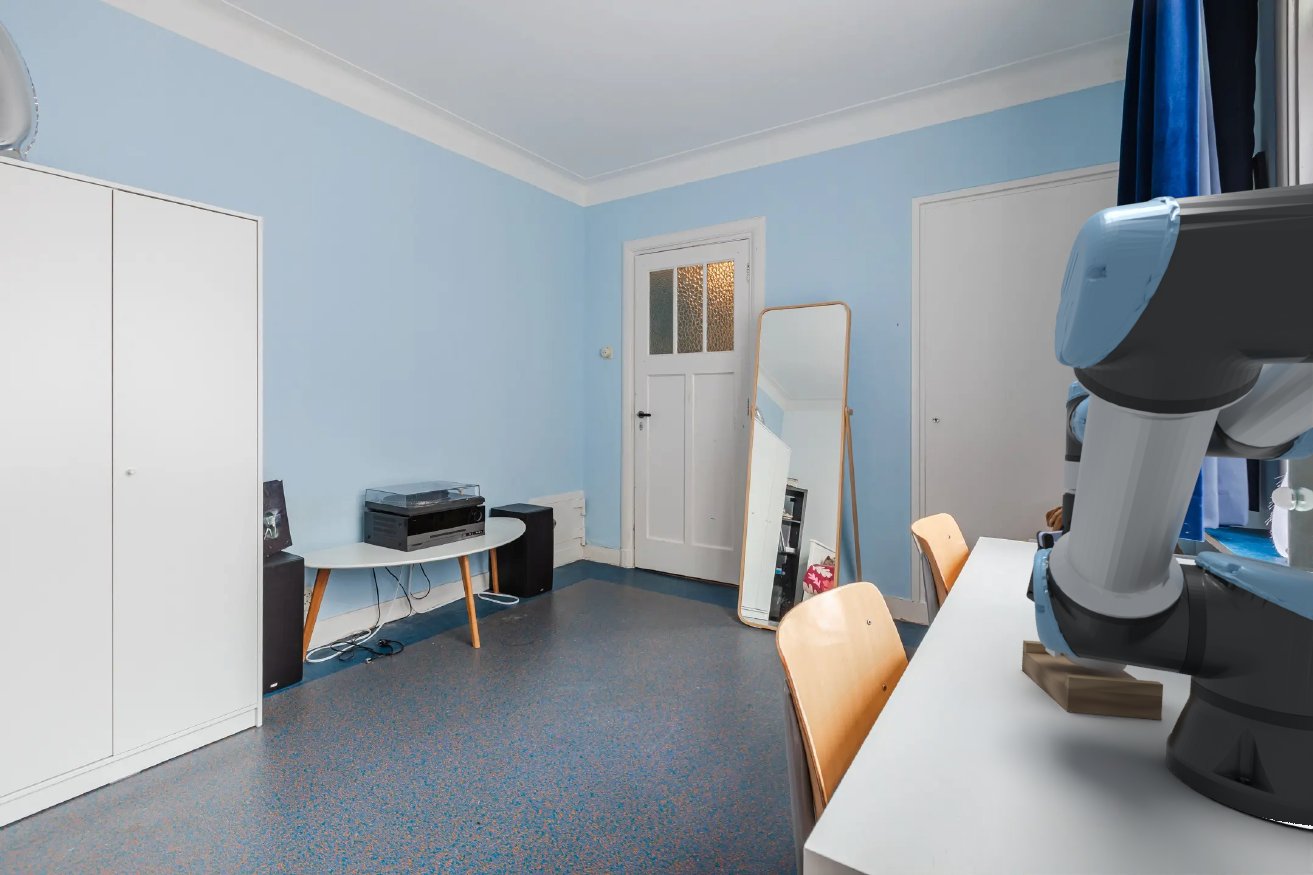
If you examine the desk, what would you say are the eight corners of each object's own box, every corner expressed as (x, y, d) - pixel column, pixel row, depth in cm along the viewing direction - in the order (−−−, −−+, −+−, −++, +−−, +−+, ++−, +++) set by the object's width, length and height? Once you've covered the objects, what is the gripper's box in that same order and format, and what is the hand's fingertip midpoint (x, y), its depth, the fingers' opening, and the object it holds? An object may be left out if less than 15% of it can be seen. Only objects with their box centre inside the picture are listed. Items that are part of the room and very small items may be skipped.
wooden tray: (1161, 719, 81) (1163, 684, 81) (1067, 711, 83) (1068, 677, 83) (1101, 676, 95) (1102, 646, 95) (1021, 669, 97) (1023, 640, 96)
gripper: (1162, 493, 90) (1153, 652, 91) (1003, 487, 93) (996, 641, 94) (1199, 500, 83) (1189, 673, 84) (1025, 492, 86) (1017, 660, 87)
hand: (1087, 656), depth 89 cm, fingers closed on cup, 8 cm apart
